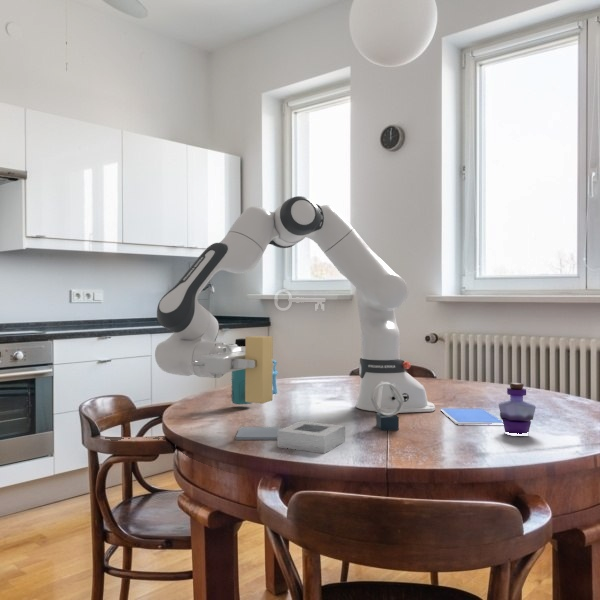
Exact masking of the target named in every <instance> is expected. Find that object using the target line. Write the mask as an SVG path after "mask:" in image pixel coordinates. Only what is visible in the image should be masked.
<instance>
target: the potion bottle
mask: <svg viewBox="0 0 600 600" xmlns="http://www.w3.org/2000/svg"><path fill="white" fill-rule="evenodd" d="M524 385H525V384H524V383H521V382H510V383H509V387H506V393H507V395H509V397H510V398H509V400H506V401H505V400H504V401H502V402H501V401H500V402H498V409H499V417H500V420H502V421H503V424H504V426H503V428H504V433H505V432H509V433H517V434H518V433H519V434H522V433H527V432H530V428H531V424H532V421H534V416H535V411H536V405H535V404H534V403H530V402H527V401H524V396H527V388H525V387H524Z"/></svg>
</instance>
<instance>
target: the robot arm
mask: <svg viewBox="0 0 600 600" xmlns="http://www.w3.org/2000/svg"><path fill="white" fill-rule="evenodd" d="M306 238H307V239H310V240H312V241H313V242H314V243H315V244H316V245H317V246H318V247H319V249H320V250H321V251H322V252H323V254H324V255H325V256H326V257H327V259H328V260H329V261H330V262H331V264H332V265H333V266H334V267H335V268H336V270H337V271H338V272H339V273H340V274H341V275H342V276H343V277H345V278H346V279H347V280H348V281H349V282H350V284H352V285H353V286H354V287H355V297H356V300H357V310H358V317H359V323H360V332H361V333H360V334H361V335H360V337H361V338H360V340H361V347H360V348H361V350H360V351H361V353H360V355H361V357H360V358H359V365H358V367H359V368H358V369H359V372H358V373H359V377H360V382H359V383H360V384H359V391H358V395H357V400H356V403H355V407H356V408H357V409H360V410H363V411H370V412H376V413H378V412H377V410H376V409H375V407H374V406H373V403H372V401H371V393H372V390H373V389H374V387H375V386H376V385H378V384H380V383H383V382H388V383H391V384H395V385H396V386H397V387H398V389H399V390H400V392H401V394H402V395H403V397H404V401H403V407H402V409H401V410H400V411H399V413H400V414H401V413H403V414H404V413H427V412H429V413H430V412H434V411H435V410H436V405H435V404H434V403H433V402H431V401H428V397H427V396H428V395H427V392H426V388H425V386H424V385H423V384H422V383H421V382H419V381H418V380H417V379H416V378H415V377H413V376H412V375H411V374H409V373H408V370H409V369H410V368H411V366H412V365H411V363H410V361H406V360H403V359H402V358H400V357H401V356H400V355H401V354H400V352H401V348H400V344H401V343H400V340H401V339H400V336H401V335H400V334H401V333H400V329H399V327H398V323H397V319H396V318H397V317H396V312H395V310H397V309H398V308H400V307H401V306H402V305H404V304H405V302H406V301H407V299H408V296H409V286H408V283H407V282H406V280H405V279H404V278H403V277H401V276H400V275H399V274H398V273H396V272H395V271H394V270H393V269H392V268H391V267H390V266H389V265H388V264H387V262H385V261H384V260H383V259H382V258H381V257H379V255H377V253H376V252H375V251H373V250H372V248H371V247H370V246H369V245H368V244H367V243H366V242H365V240H364V239H363V238H362V237H361V235H360V234H359V233H358V232H357V230H356V229H355V228H354V227H353V226H352V225H351V223H350V222H349V221H348V220H347V219H346V218H345V216H344V215H342V214H341V213H340V212H339V211H338V210H337V209H336V208H334V207H333V206H331V205H328V204H325V205H319V204H317V203H315V202H314V201H313V200H312V199H310V198H309V197H306V196H302V195H301V196H299V195H298V196H294V197H290V198H288V199H286V201H284V202H283V203H282V204H280V205H279V206H278V207H277V208H276V210H274V211H268V210H267V209H265V208H264V207H260V206H255V205H253V206H249V207H247V208H246V209H245V210H244V211H243V212H242V213H241V214H240V215H239V216H238V217H237V219H236V220H235V221H234V222H233V224H232V225H231V227H230V229H229V230H228V232H227V233H226V234H225V236H224V238H223V239H222V240H221V241H220V242H214V243H212V244H210V245H208V246H207V248H206V249H204V250H203V252H202V253H201V254H200V255H199V256H198V257H197V259H196V260H195V261H194V262H193V264H192V265H190V267H189V269H188V270H187V271H186V272H185V273H184V274H183V276H182V277H181V278H180V279H179V280H178V282H177V283H175V285H174V286H173V287H172V288H171V289H170V290H169V291H168V292H166V293H165V294H164V295H163V296H162V297H161V298H160V300H159V302H158V304H157V309H156V319H157V322H158V323H159V325H160V326H162V327H163V328H165V329H166V330H169V331H170V332H172V333H173V334H171V335H170V336H169V337H168V338H167V339H165V340H164V341H161V342H159V343H158V344H157V345H156V347H155V351H154V359H155V362H156V364H157V366H158V367H159V369H160V370H161V371H163V372H164V373H166V374H171V375H177V376H187V377H189V376H196V377H200V378H209V379H220V378H222V377H223V376H224V375H226V374H228V373H232V371H236V370H241V369H245V368H255V367H257V360H251V359H250V360H246V359H245V352H246V346H237V345H236V344H235V343H225V342H222V341H216V340H217V338H218V335H219V332H220V324H219V321H218V319H217V318H216V317H215V316H214V315H213V314H212V313H211V312H210V311H209V310H207V308H205V307H203V305H201V304H200V302H199V301H198V297H199V295H200V293H201V291H203V290H204V288H205V287H206V286H207V285H208V283H209V282H210V280H211V279H212V278H213V277H214V275H216V273H218V272H220V271H225V272H228V273H232V274H237V275H240V274H241V275H242V274H246V273H249V272H251V271H252V270H253V269H254V268H255V267H256V266H257V265H258V264H259V262H260V260H261V258H262V256H263V255H264V252H265V251H266V249H267V247H268V245H271V246H273V247H277V248H280V249H288V248H291V247H293V246H295V245H296V244H298V243H300V242H302V241H303V240H304V239H306ZM374 396H375V400H376V403H377V405H378V407H379V408H380V409H381V412H383V413H391V412H393V411H395V410H396V409H397V407H398V406H399V403H398V401H397V400H396V399H395V397H394V396H393V394H392V392H391V390H390V386H389V385H384V386H381V387H380V388H378V389H377V390H376V392H375V394H374ZM399 413H398V414H399Z"/></svg>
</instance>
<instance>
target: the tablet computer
mask: <svg viewBox="0 0 600 600" xmlns="http://www.w3.org/2000/svg"><path fill="white" fill-rule="evenodd" d="M440 410H441V411H442V412H443V413H444V415H445V416H446V417H447V418H448V417H449V418H450V419H449V418H448V419H449V420H451V421H452V422H453V423H454V424H455V425H456V424H492V423H503V422H502V421H503V420H502V419H500V420H498V419H499V418H498V417H497V416H495V415H494V414H492V413H490V412H489V411H487V410H485V409H483V408H441V409H440ZM441 411H440V412H441ZM442 412H441V413H442ZM443 413H442V414H443Z"/></svg>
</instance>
